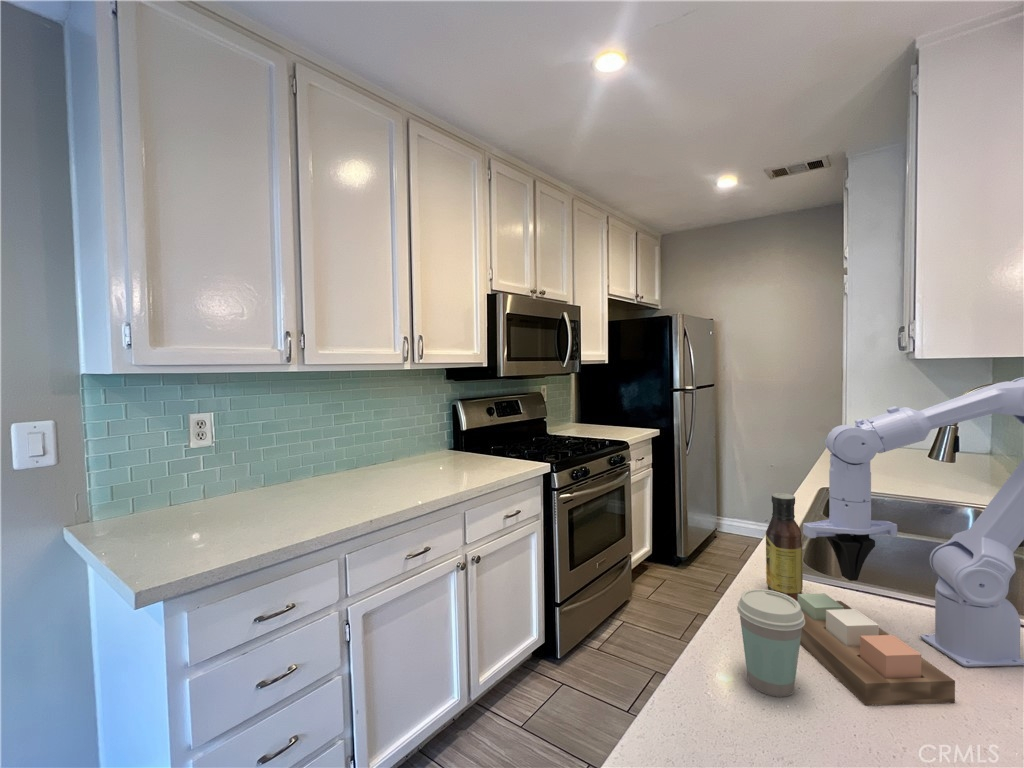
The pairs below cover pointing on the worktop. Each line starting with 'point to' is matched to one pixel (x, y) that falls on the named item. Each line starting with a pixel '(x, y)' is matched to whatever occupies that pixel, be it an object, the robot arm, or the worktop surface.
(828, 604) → the sage green button
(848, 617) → the cream button
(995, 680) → the worktop surface
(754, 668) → the coffee cup
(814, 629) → the walnut button board
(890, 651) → the terracotta button
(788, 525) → the sauce bottle
